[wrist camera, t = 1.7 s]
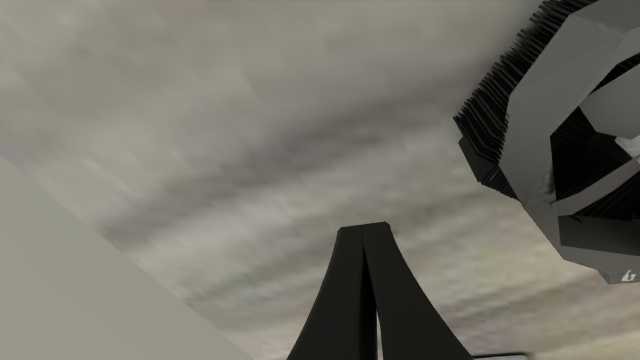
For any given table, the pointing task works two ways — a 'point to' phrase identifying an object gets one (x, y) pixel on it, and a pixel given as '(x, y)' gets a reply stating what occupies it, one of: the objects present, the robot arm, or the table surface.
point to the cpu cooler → (569, 134)
